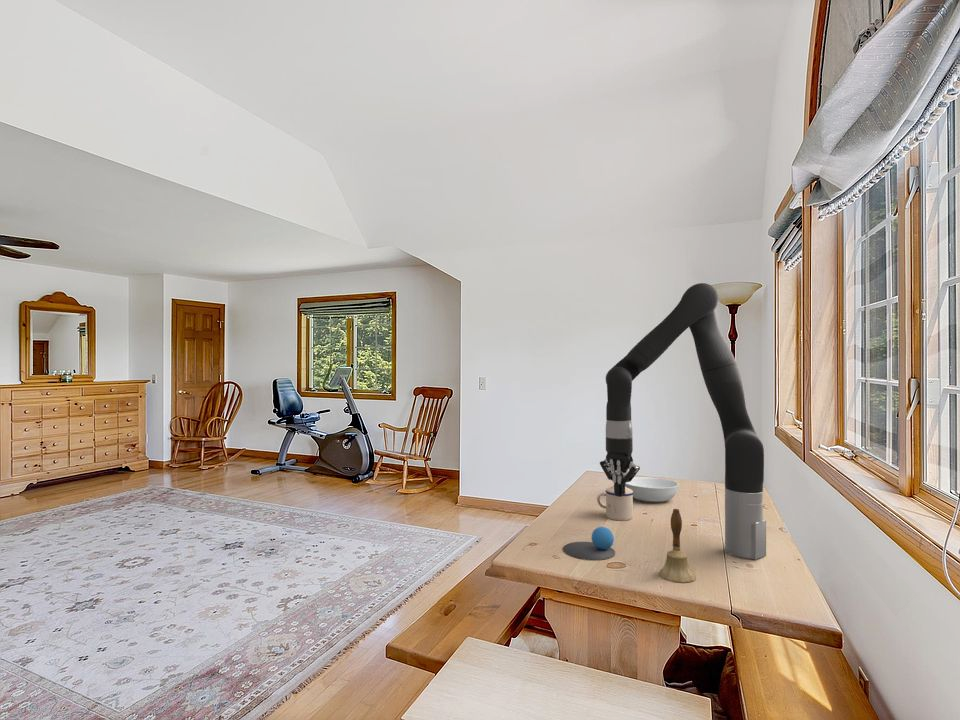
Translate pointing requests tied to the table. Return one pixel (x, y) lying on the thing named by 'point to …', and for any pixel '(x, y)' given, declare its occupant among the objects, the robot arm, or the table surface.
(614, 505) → the teacup with lid
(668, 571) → the hand bell
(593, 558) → the charcoal disc
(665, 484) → the serving bowl
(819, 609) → the table surface
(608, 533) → the ball
